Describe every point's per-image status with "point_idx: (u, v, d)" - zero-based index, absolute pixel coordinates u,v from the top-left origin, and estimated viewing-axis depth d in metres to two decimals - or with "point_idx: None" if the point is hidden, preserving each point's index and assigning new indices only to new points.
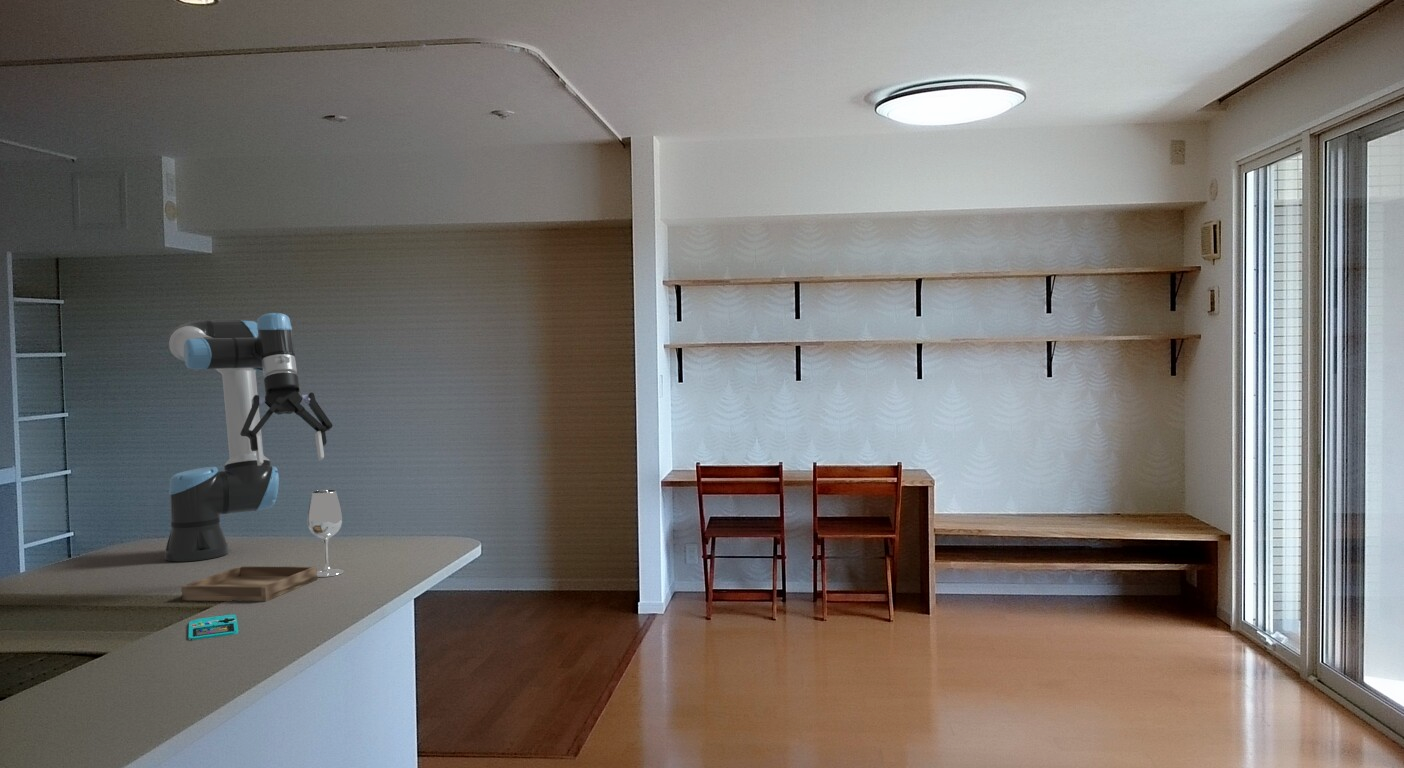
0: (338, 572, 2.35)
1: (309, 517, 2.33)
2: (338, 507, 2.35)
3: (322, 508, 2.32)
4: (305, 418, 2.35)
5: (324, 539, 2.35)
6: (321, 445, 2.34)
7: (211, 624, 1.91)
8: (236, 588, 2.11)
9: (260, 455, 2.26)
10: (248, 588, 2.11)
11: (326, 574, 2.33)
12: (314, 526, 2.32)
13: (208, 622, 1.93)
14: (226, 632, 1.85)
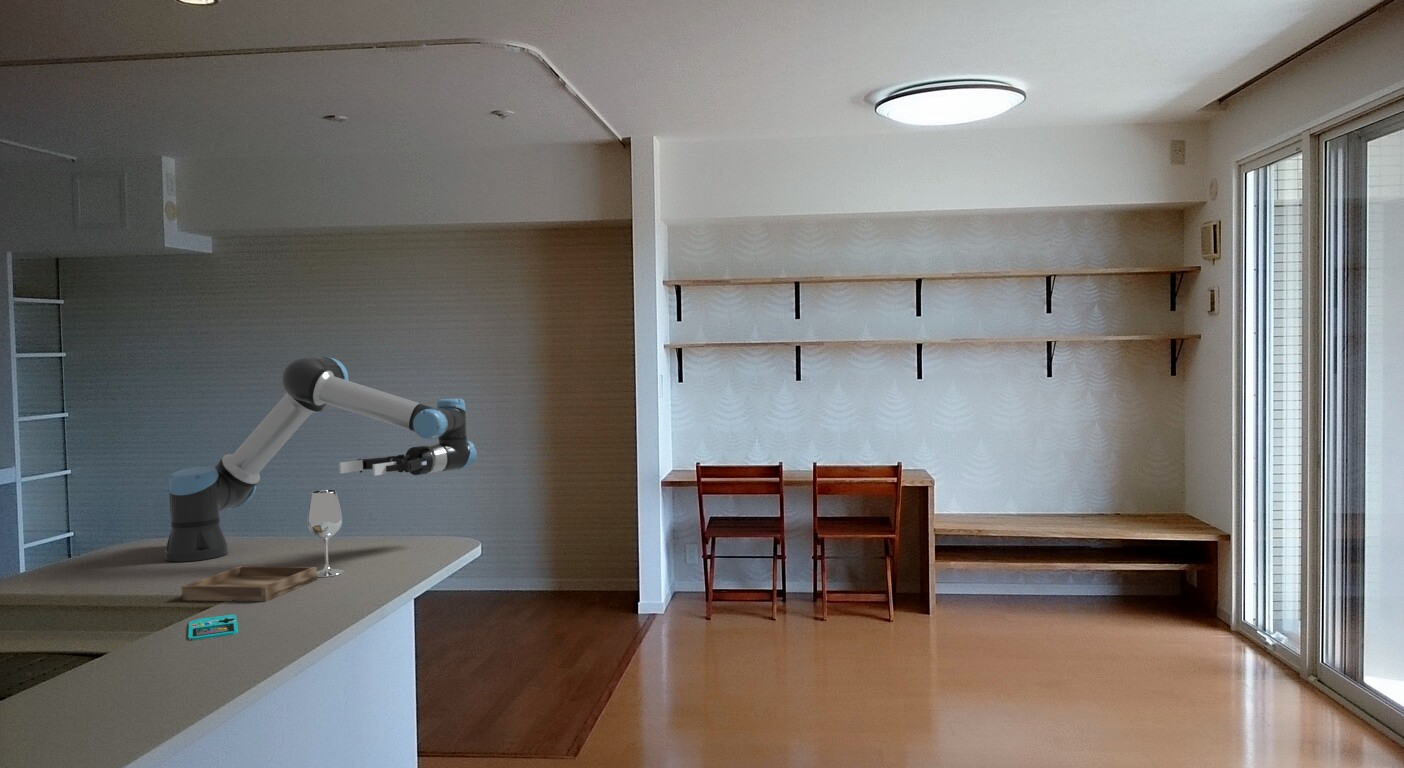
0: (338, 572, 2.35)
1: (309, 517, 2.33)
2: (338, 507, 2.35)
3: (322, 508, 2.32)
4: (380, 464, 2.54)
5: (324, 539, 2.35)
6: None
7: (211, 624, 1.91)
8: (236, 588, 2.11)
9: (380, 474, 2.41)
10: (248, 588, 2.11)
11: (326, 574, 2.33)
12: (314, 526, 2.32)
13: (208, 622, 1.93)
14: (226, 632, 1.85)
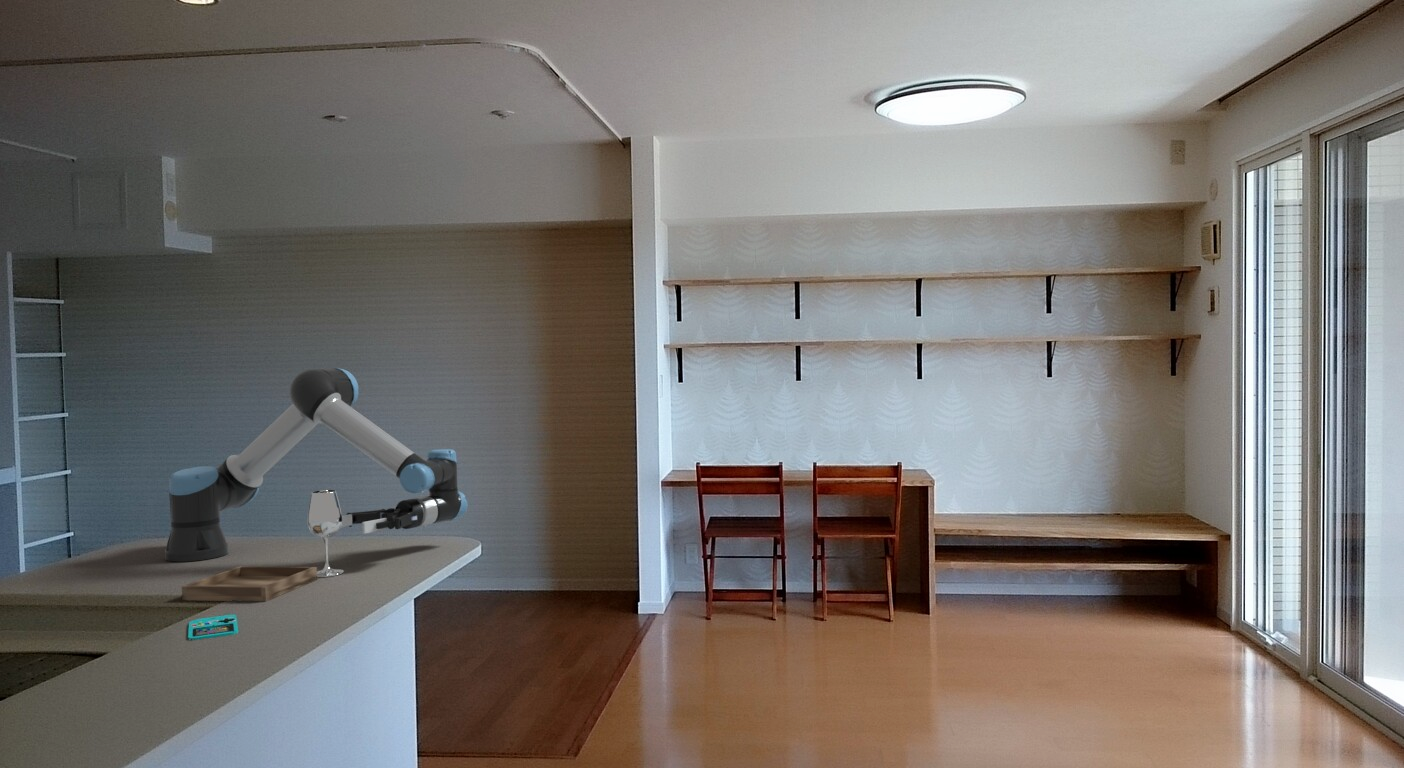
0: (338, 572, 2.35)
1: (309, 517, 2.33)
2: (338, 507, 2.35)
3: (322, 508, 2.32)
4: (369, 518, 2.51)
5: (324, 539, 2.35)
6: None
7: (211, 624, 1.91)
8: (236, 588, 2.11)
9: None
10: (248, 588, 2.11)
11: (326, 574, 2.33)
12: (314, 526, 2.32)
13: (208, 622, 1.93)
14: (226, 632, 1.85)
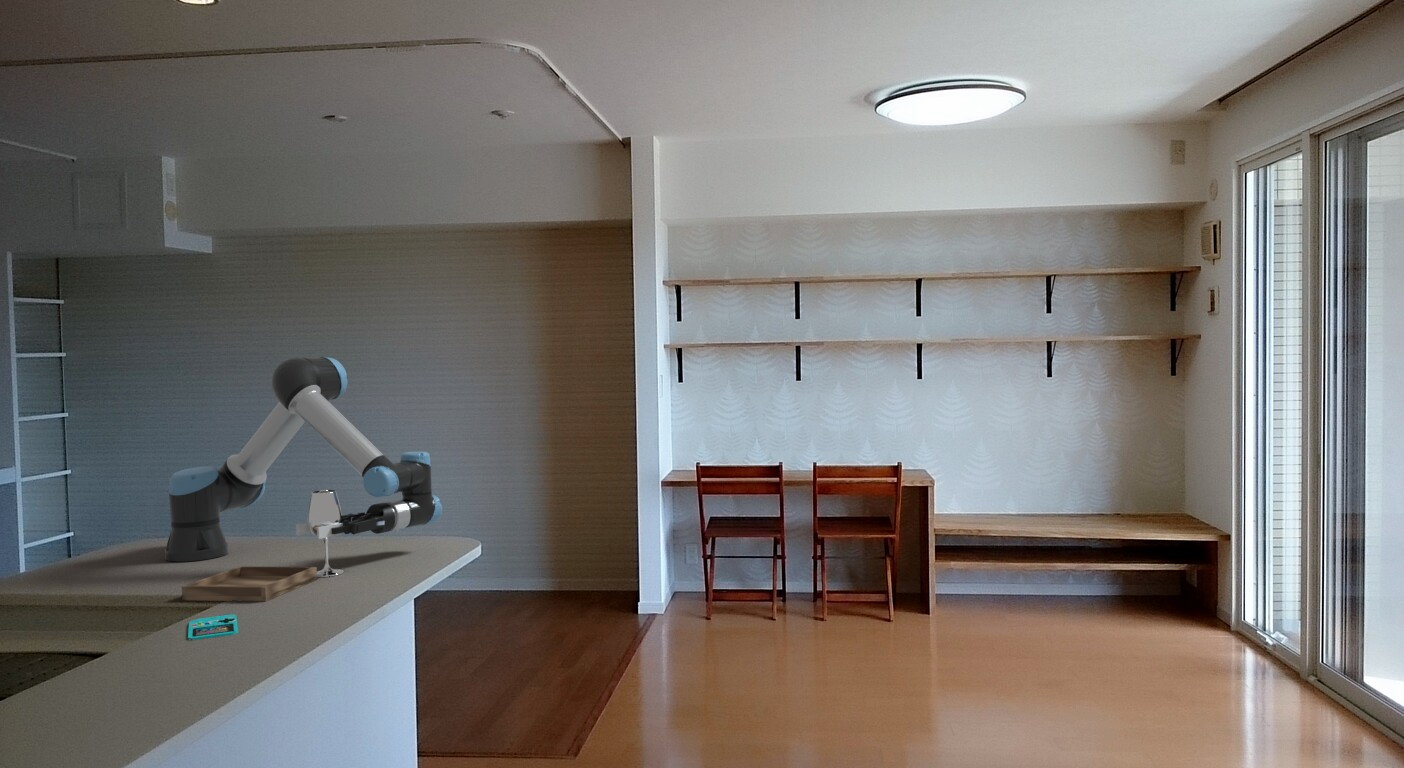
0: (338, 572, 2.35)
1: (309, 517, 2.33)
2: (338, 507, 2.35)
3: (322, 508, 2.32)
4: None
5: (324, 539, 2.35)
6: None
7: (211, 624, 1.91)
8: (236, 588, 2.11)
9: None
10: (248, 588, 2.11)
11: (326, 574, 2.33)
12: (314, 526, 2.32)
13: (208, 622, 1.93)
14: (226, 632, 1.85)
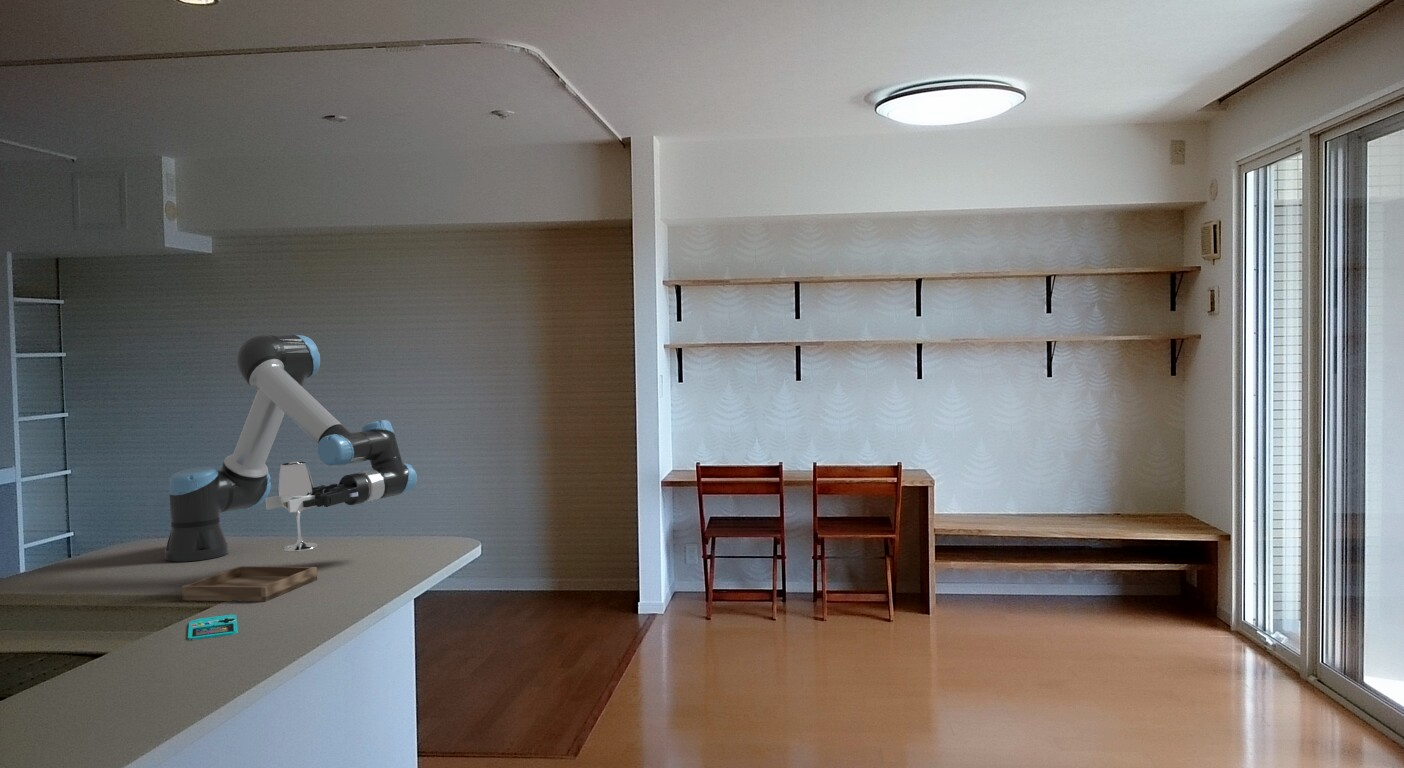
0: (312, 546, 2.28)
1: (279, 490, 2.25)
2: (309, 479, 2.27)
3: (293, 480, 2.24)
4: None
5: (296, 512, 2.27)
6: None
7: (211, 624, 1.91)
8: (236, 588, 2.11)
9: None
10: (248, 588, 2.11)
11: (299, 548, 2.26)
12: (285, 499, 2.24)
13: (208, 622, 1.93)
14: (225, 632, 1.85)
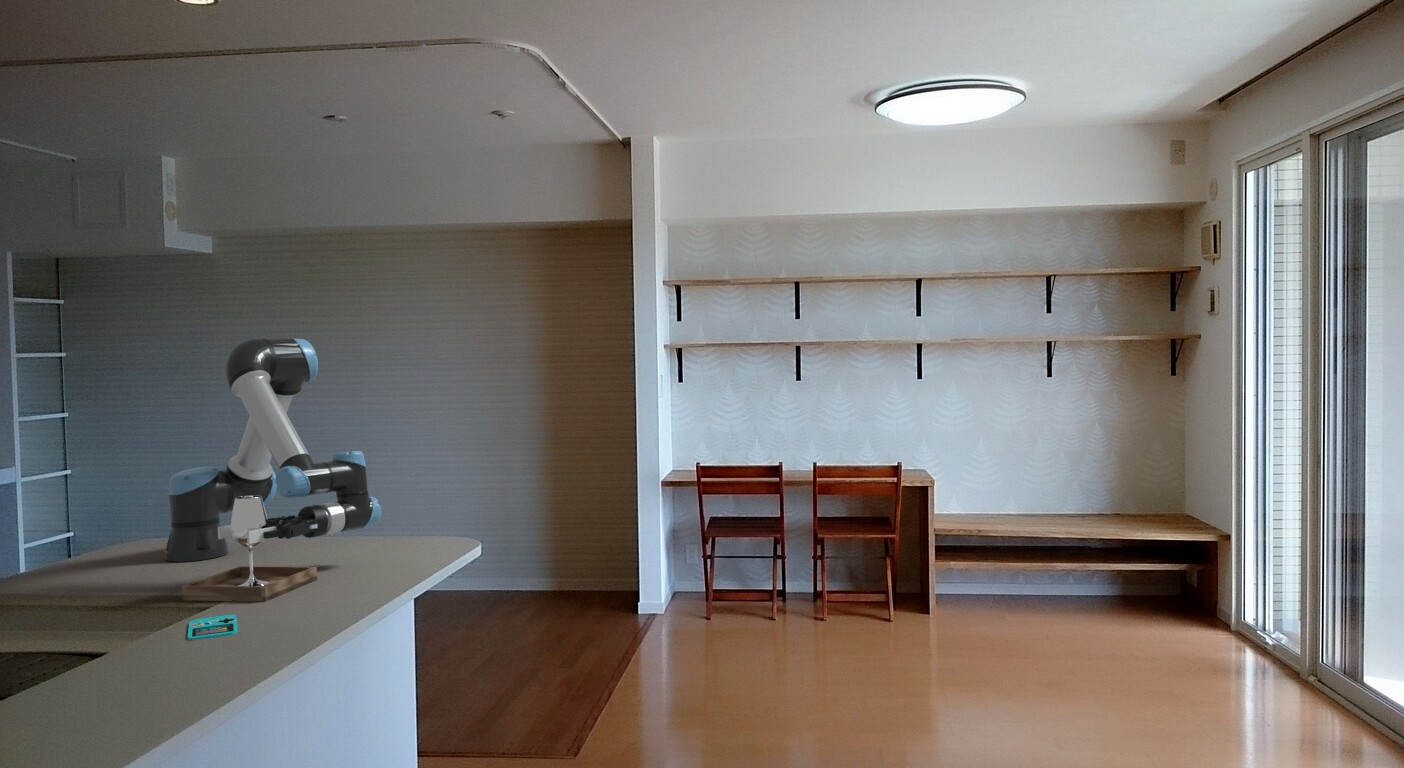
0: (263, 583, 2.21)
1: (232, 524, 2.19)
2: (263, 514, 2.21)
3: (245, 515, 2.18)
4: None
5: (248, 548, 2.21)
6: None
7: (211, 624, 1.91)
8: (236, 588, 2.11)
9: None
10: (248, 588, 2.11)
11: (250, 585, 2.19)
12: (237, 534, 2.18)
13: (208, 622, 1.93)
14: (225, 632, 1.85)
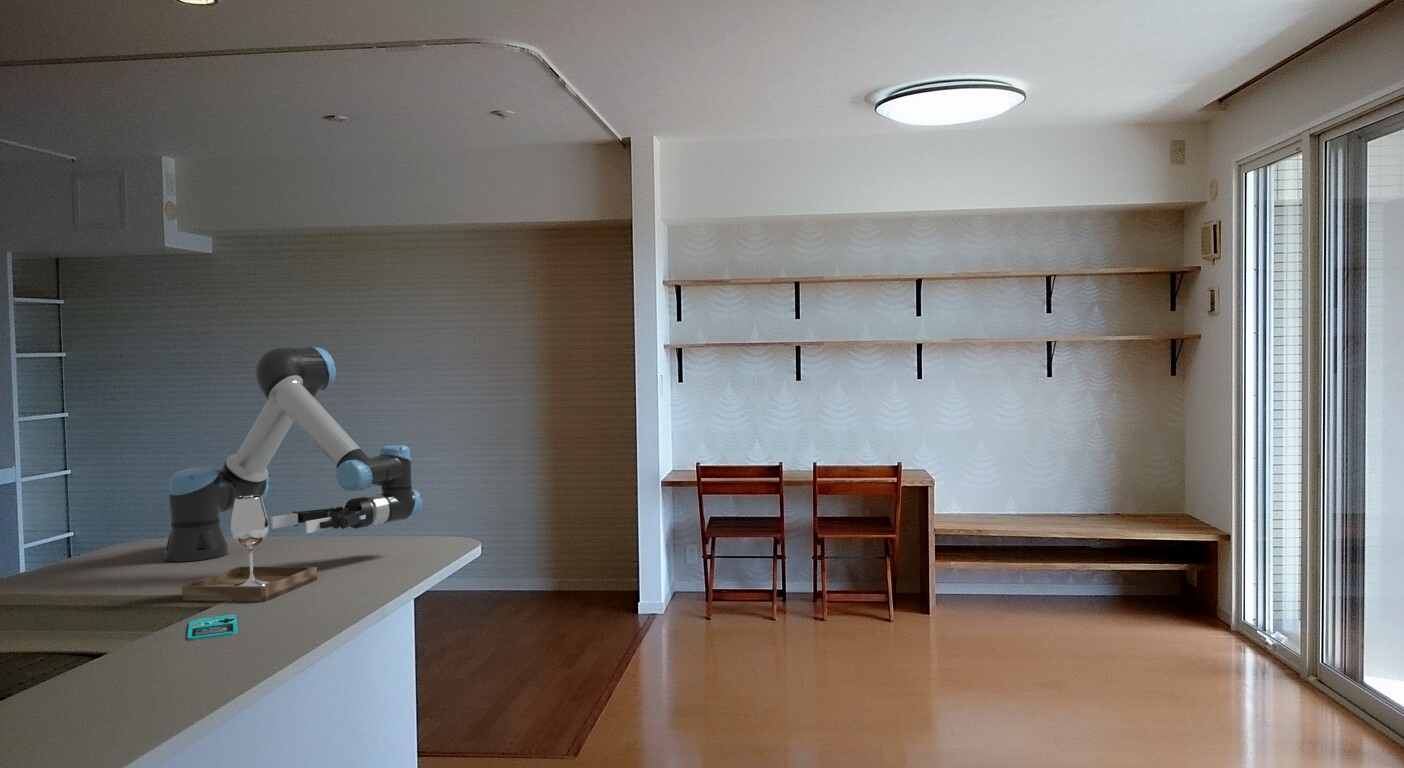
0: (263, 583, 2.21)
1: (232, 525, 2.19)
2: (263, 514, 2.21)
3: (245, 515, 2.18)
4: (316, 517, 2.40)
5: (248, 548, 2.21)
6: None
7: (211, 624, 1.91)
8: (236, 588, 2.11)
9: None
10: (248, 588, 2.11)
11: (250, 585, 2.19)
12: (237, 534, 2.18)
13: (208, 622, 1.93)
14: (225, 632, 1.85)
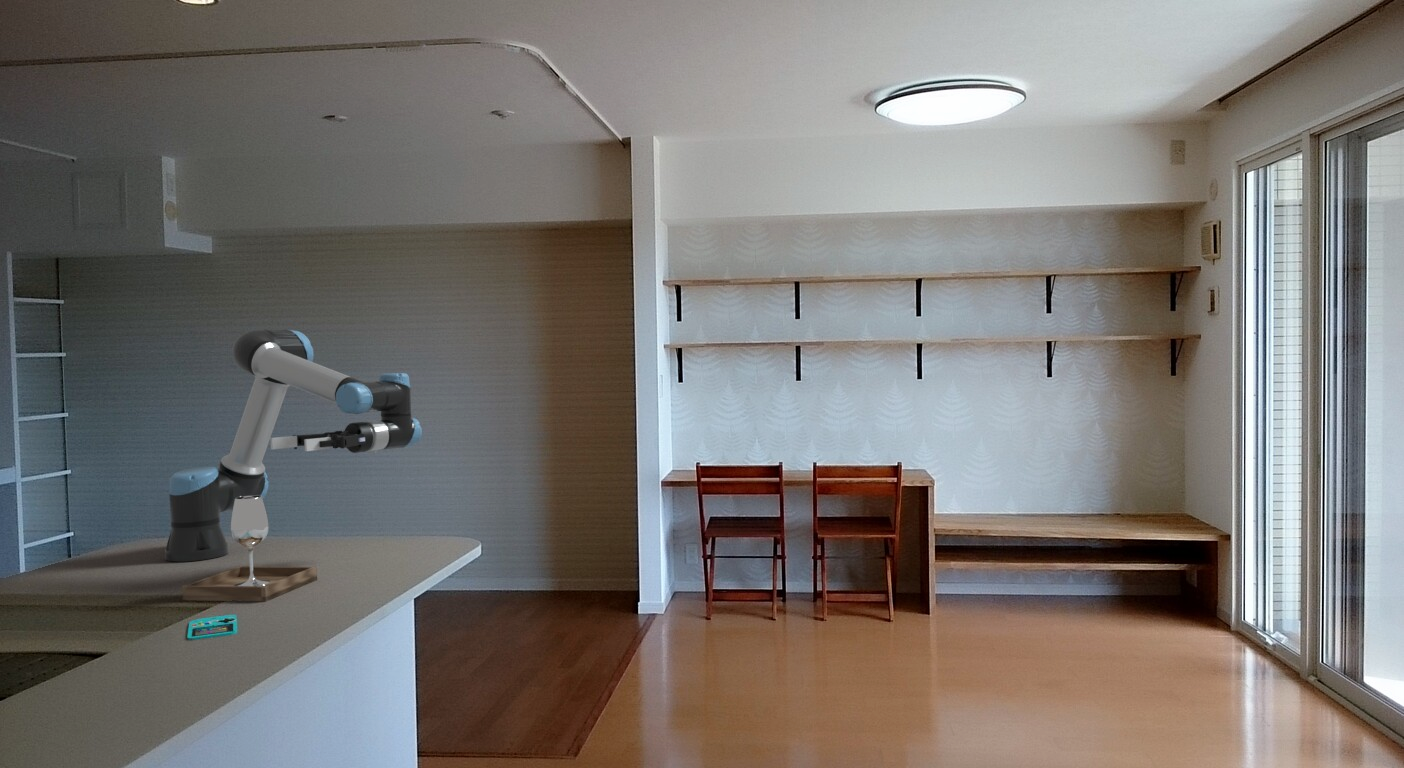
0: (263, 583, 2.21)
1: (232, 525, 2.19)
2: (263, 514, 2.21)
3: (245, 515, 2.18)
4: None
5: (248, 548, 2.21)
6: None
7: (211, 624, 1.91)
8: (236, 588, 2.11)
9: (312, 450, 2.26)
10: (248, 588, 2.11)
11: (250, 585, 2.19)
12: (237, 534, 2.18)
13: (208, 622, 1.93)
14: (225, 632, 1.85)
